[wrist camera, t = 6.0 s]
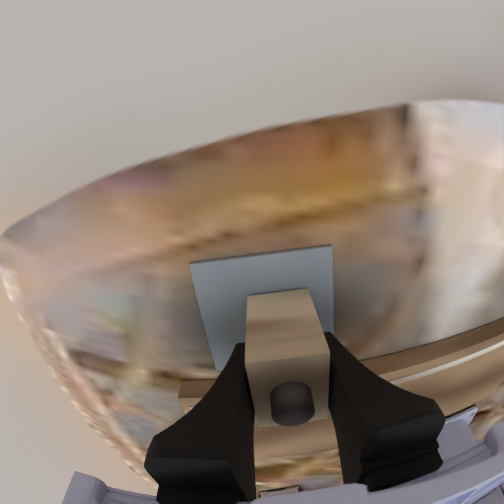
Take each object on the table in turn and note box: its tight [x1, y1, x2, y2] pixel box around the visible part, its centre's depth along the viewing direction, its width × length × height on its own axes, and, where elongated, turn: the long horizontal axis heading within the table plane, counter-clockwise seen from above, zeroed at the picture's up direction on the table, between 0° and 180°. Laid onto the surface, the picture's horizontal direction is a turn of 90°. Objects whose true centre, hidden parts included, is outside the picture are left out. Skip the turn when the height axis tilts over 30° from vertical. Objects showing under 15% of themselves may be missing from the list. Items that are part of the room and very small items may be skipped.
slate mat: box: [189, 245, 334, 371], centre depth 15 cm, size 7×7×1 cm
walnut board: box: [178, 318, 504, 459], centre depth 17 cm, size 8×26×2 cm, turn 98°
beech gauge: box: [245, 288, 330, 427], centre depth 12 cm, size 4×3×6 cm
